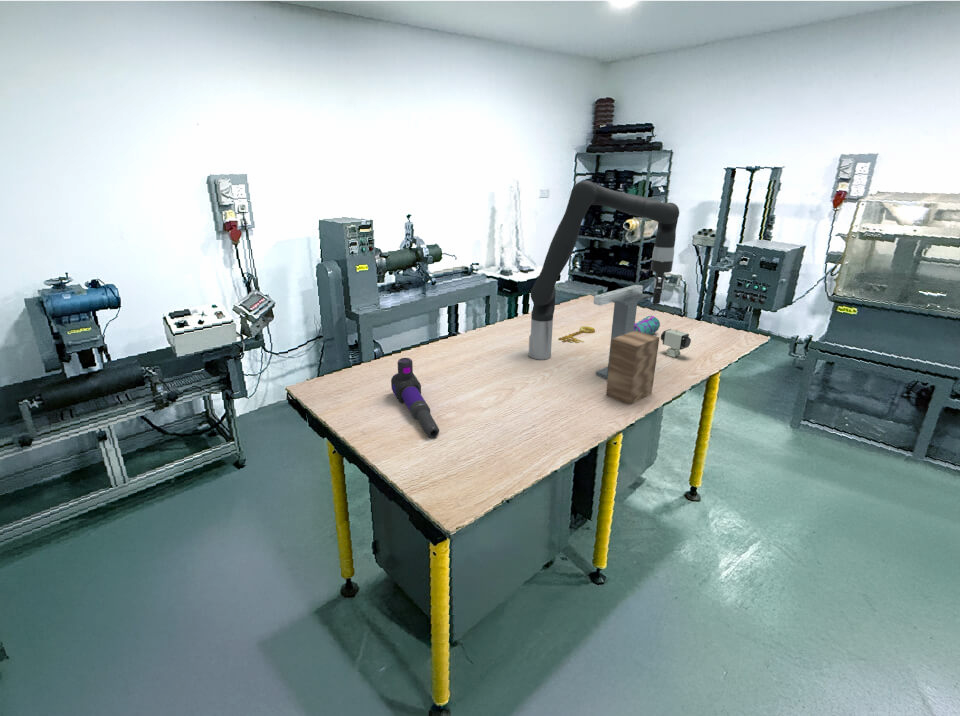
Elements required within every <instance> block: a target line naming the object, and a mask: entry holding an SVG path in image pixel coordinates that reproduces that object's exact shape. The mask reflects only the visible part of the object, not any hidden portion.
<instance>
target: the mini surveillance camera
mask: <svg viewBox="0 0 960 716" xmlns="http://www.w3.org/2000/svg"><path fill="white" fill-rule="evenodd" d="M660 340H661V342H662V345H664V346H666V347H668V348H667V349H666V353H667V354H666V355H667V356H668V357H671V358H673V359H674V358H676V357H680V355H681V351H682V350H684V349H687V348H689V346H690V345H691V343H692V339H691V338H690V334H689V333H687V332H684V331H680V330H679V329H672V328H669V329H666V330H664V331H662V333H661V334H660Z"/></svg>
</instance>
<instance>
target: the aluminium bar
mask: <svg viewBox="0 0 960 716" xmlns="http://www.w3.org/2000/svg"><path fill="white" fill-rule="evenodd" d="M643 289H644V286H643V285H640V284H633V285H630V286H627V287H623V288H617V289H615V290H611V291H607V292H603V293H601V294H599V293H598V294H596V295H594V297H593V305H597V306H604V305H607V304H612V303H613V302H615V301H618V300H622V299H625V298H629V297H632V296H636V295H639V294H643Z"/></svg>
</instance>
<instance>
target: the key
mask: <svg viewBox="0 0 960 716" xmlns="http://www.w3.org/2000/svg"><path fill="white" fill-rule="evenodd" d="M595 332H596V329H595V328H594V327H593V326H592V327H591V326H586V325H585V326H581V327H579V331H575V332H573V333H569V334H568V335H565V336H562V337H558V339H557V340H558V341H561V342H562V343H570V344H572V343H575V344H580V342H581V343H585V341H583V340H581V339H578V338H575V337H576V336H578V335H581V334H594V333H595Z"/></svg>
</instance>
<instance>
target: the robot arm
mask: <svg viewBox="0 0 960 716" xmlns="http://www.w3.org/2000/svg"><path fill="white" fill-rule="evenodd" d="M591 206H601V207H602V206H603V207H607V208H610V209H613V210H617V211H618V212H622V213H625V214H628V215H631V216H635V217H640V218H644V219H645V218H646V219H648V220H650V221H651V220H652V221H653V222H654V221H655V222H657V230H656V234H655V238H654V247H653V250H652V257H651V258H652V259H651V264H650V271H652V272H654V273H657V274H655V275H654V278H653V281H654V286H653V289H654V291H653V292H654V295H653V296H654V298H653V304H656V305H657V304H658V305H659V304H660V303H661V296H662V294H663V289H664V287H665V283H666V276H667V275H665V274H668V273H671V272H672V271H673V263H674V255H675V244H676V234H677V225H678V220H679V217H680V208H679V206H678V205H677V204H676V203H674V202H661V201H658V200H654V199H653V198H649V197H646V196H642V195H637V194H633V193H628V192H624V191H623V192H622V191H617V190H613V189H610V188H607V187H604V186H601V185H599V184H597V183H595V182H593V181H591V180H588V179H587V180H586V179H585V180H580V181H578V182H576V183H575V184H574V186H573V187H572V189H571V191H570V196H569V199H568V202H567V206H566V209H565V211H564V215H563V217H562V218H561V220H560V222H559V225H558V227H557V229H556V231H555V232H554V235H553V237H552V240H551V242H550V244H549V248H548V250H547V253H546V256H545V259H544V262H543V264H542V265H543V266H542V268H541V271H540V273H539V275H538V277H537V278H536V281H535V282H534V284H533V286H532V288H531V290H530V299H531V302H533V306H532V310H531V317H530V318H531V319H530V335H529V337H528V339H529V340H528V357H529V358H532V359H535V360H542V361H543V360H548V359H550V358H551V357H552V345H553V343H552V341H553V325H554V323H553V322H554V319H553V318H554V313H555V309H556V295H557V294H556V292H557V291H556V283H557V280H558V279H559V276H560V275H561V273H562V272H563V270H564V269H565V266H567V263H568V262H569V260H570V258H571V255H572V254H573V252H574V249H575V247H576V244H577V241H578V238H579V234H580V231H581V227H582V223H583V220H584V218H585V216H586V214H587V212H588V211H589V208H590V207H591Z"/></svg>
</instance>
